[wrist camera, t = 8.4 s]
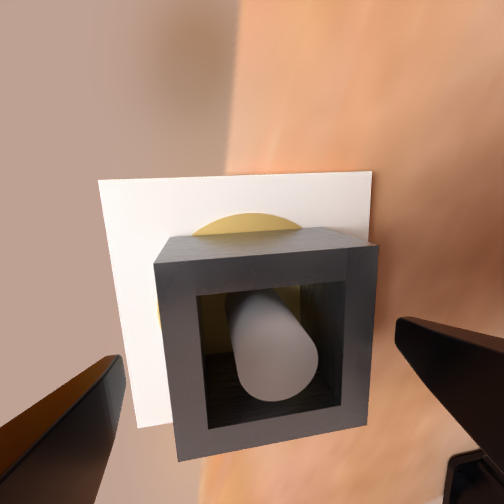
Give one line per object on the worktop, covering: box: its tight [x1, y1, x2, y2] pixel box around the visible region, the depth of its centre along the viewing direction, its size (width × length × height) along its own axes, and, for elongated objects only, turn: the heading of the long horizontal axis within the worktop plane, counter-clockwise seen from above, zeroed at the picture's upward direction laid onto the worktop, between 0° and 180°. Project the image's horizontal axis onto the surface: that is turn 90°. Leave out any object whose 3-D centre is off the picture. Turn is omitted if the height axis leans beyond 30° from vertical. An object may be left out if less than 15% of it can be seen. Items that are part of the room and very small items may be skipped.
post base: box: [98, 171, 372, 428], centre depth 11 cm, size 11×11×6 cm
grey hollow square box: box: [153, 227, 379, 462], centre depth 10 cm, size 6×6×4 cm
